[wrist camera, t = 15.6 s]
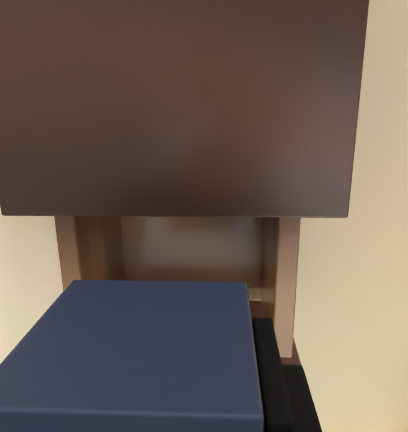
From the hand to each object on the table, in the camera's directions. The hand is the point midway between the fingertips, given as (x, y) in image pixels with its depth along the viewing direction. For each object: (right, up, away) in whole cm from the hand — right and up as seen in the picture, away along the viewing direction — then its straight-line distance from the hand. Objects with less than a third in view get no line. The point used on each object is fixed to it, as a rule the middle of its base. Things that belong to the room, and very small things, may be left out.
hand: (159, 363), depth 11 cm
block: (0, 0, 0) cm, 0 cm away
